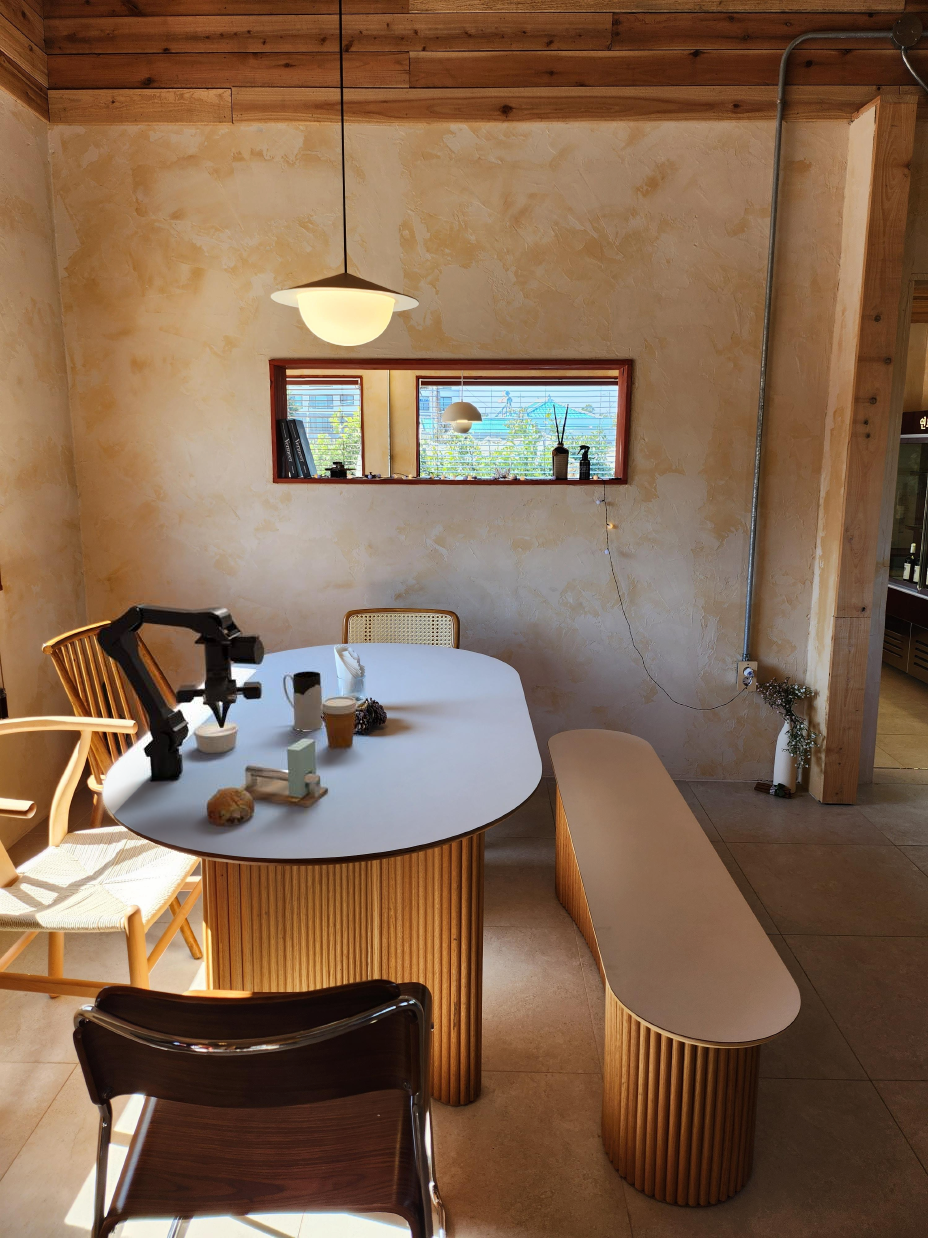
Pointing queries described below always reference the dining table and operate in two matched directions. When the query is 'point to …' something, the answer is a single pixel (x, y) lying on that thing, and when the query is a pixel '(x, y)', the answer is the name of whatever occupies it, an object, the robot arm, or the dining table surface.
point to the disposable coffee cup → (339, 721)
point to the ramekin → (215, 737)
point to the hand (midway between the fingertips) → (221, 727)
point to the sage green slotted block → (300, 766)
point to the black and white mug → (306, 700)
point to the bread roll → (230, 806)
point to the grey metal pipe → (280, 778)
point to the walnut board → (279, 792)
